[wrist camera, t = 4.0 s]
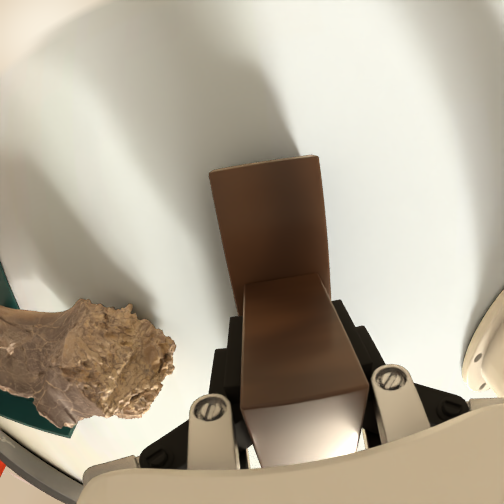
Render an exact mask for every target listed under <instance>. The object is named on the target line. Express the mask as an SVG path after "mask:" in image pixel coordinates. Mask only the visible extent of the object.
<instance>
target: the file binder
mask: <svg viewBox="0 0 504 504" xmlns="http://www.w3.org/2000/svg"><path fill="white" fill-rule="evenodd" d="M5 467H6V465H5V464H4V463H3V462H2V461H1V460H0V477H1V475H2V473H3V470H4V469H5Z"/></svg>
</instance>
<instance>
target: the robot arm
mask: <svg viewBox="0 0 504 504" xmlns="http://www.w3.org/2000/svg"><path fill="white" fill-rule="evenodd" d="M331 302H332V304H333V306H334V308H335V310H336V312H337V314H338V316H339V318H340V321H341V323H342V325H343V327H344V329H345V331H346V333H347V336H348V338H349V340H350V342H351V344H352V347H353V349H354V351H355V353H356V356H357V358H358V360H359V362H360V365H361V367H362V369H363V372H364V374H365V376H366V378H367V381H368V383H369V391H368V397H367V403H366V408H365V414H364V419H363V424H362V433H363V438H364V444H365V450H362V451H358V452H354V453H350V454H346V455H342V456H337V457H332V458H328V459H323V460H317V461H312V462H306V463H299V464H292V465H285V466H276V467H267V468H255V469H251V468H250V461H249V454H248V449H247V448H248V447H249V446H251V445H252V441H251V438H250V435H249V432H248V430H247V427H246V424H245V421H244V418H243V415H242V412H241V409H240V389H241V358H242V328H243V315H242V316H234V317H230V324H229V334H228V344H227V348H223V349H216V350H215V353H214V360H213V367H212V374H211V381H210V388H209V394H207V395H203V396H201V397H199V398H198V399H196V400H195V401H194V402H193V404H192V405H191V407H190V411H189V419H188V420H187V421H186V422H184V423H183V424H181V425H180V426H178V427H177V428H175V429H174V430H172V431H171V432H169V433H168V434H166V435H165V436H163V437H162V438H160V439H159V440H157V441H156V442H154V443H152V444H151V445H149V446H148V447H146V448H145V449H144V450H143V451H142V453H141V454H140V456H137V457H135V456H134V455H131V456H128V457H124V458H121V459H117V460H114V461H110V462H106V463H102V464H98V465H94V466H92V467H89V468H88V469H87V470H86V471H85V472H84V474H83V486H84V489H83V490H82V492H81V494H80V496H79V498H78V501H77V503H76V504H504V289H503V291H502V292H501V293H500V294H499V296H498V297H497V298H496V300H495V301H494V302H493V304H492V305H491V307H490V308H489V310H488V311H487V313H486V314H485V316H484V317H483V319H482V321H481V323H480V324H479V326H478V328H477V330H476V331H475V333H474V335H473V338H472V340H471V342H470V344H469V346H468V349H467V352H466V354H465V357H464V362H463V366H462V377H463V380H464V382H465V383H466V385H467V386H468V388H469V389H470V390H472V391H475V392H481V391H486V390H488V389H492V390H493V392H494V393H495V394H496V396H497V397H498V398H477V399H470V400H469V401H465V400H464V399H463V398H462V397H460V396H457V395H455V394H451V393H447V392H444V391H440V390H436V389H433V388H430V387H426V386H423V385H419V384H416V383H414V382H413V380H412V378H411V375H410V373H409V372H408V370H406V369H405V368H404V367H402V366H399V365H395V364H387V365H385V363H384V361H383V359H382V357H381V355H380V353H379V351H378V350H377V348H376V346H375V344H374V342H373V340H372V339H371V337H370V335H369V333H368V331H367V330H366V328H365V327H364V326H359V327H355V326H354V324H353V322H352V320H351V318H350V316H349V314H348V312H347V310H346V308H345V307H344V305H343V303H342V301H341V300H335V301H331Z"/></svg>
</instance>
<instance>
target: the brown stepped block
mask: <svg viewBox="0 0 504 504" xmlns="http://www.w3.org/2000/svg"><path fill="white" fill-rule="evenodd" d="M209 179H210V184H211V189H212V194H213V200H214V205H215V210H216V214H217V219H218V224H219V229H220V234H221V239H222V244H223V248H224V253H225V258H226V262H227V267H228V272H229V276H230V281H231V285H232V290H233V294H234V299H235V303H236V308H237V312H238V316H242V315H243V328H242V358H241V389H240V409H241V412H242V415H243V418H244V421H245V424H246V427H247V430H248V432H249V435H250V438H251V441H252V444H253V446H254V449H255V452H256V455H257V457H258V460H259V463H260V465H261V468H267V467H276V466H285V465H292V464H299V463H306V462H312V461H317V460H323V459H328V458H332V457H337V456H342V455H346V454H350V453H354V452H356V451H357V446H358V442H359V438H360V433H361V429H362V424H363V419H364V414H365V408H366V403H367V397H368V391H369V383H368V381H367V378H366V376H365V374H364V372H363V369H362V367H361V365H360V362H359V360H358V358H357V356H356V353H355V351H354V349H353V347H352V344H351V342H350V340H349V338H348V336H347V333H346V331H345V329H344V327H343V325H342V323H341V321H340V318H339V316H338V314H337V312H336V310H335V308H334V306H333V304H332V302H331V287H330V268H329V253H328V239H327V227H326V216H325V206H324V197H323V188H322V179H321V171H320V163H319V157H318V156H315V155H305V156H297V157H289V158H282V159H275V160H268V161H261V162H255V163H249V164H243V165H237V166H231V167H226V168H220V169H215V170H212V171H211V172H209Z"/></svg>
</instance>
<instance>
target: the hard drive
mask: <svg viewBox="0 0 504 504" xmlns="http://www.w3.org/2000/svg"><path fill="white" fill-rule="evenodd" d="M0 460H1V461H2V462H3V463H4V464H5V465H7V466H8V467H9V468H10V469H12V470H13V471H14V472H15V473H17V474H18V475H19V476H21V477H22V478H23V479H25V480H26V481H28V482H29V483H31V484H32V485H34V486H35V487H37V488H38V489H40V490H41V491H43V492H45V493H47V494H48V495H50V496H52V497H54V498H55V499H57V500H59V501H61V502H63V503H65V504H76V503H77V501H78V498H79V496H80V494H81V492H82V490H83V489H84V486H83V485H81V484H79V483H78V482H76V481H74V480H72V479H71V478H69V477H67V476H66V475H64V474H62V473H61V472H59V471H57V470H56V469H54V468H53V467H51V466H50V465H48V464H46V463H45V462H43V461H42V460H40V459H39V458H37V457H36V456H35V455H33V454H32V453H30V452H29V451H27V450H26V449H25V448H23V447H22V446H21V445H19V444H18V443H17V442H15V441H14V440H13V439H11V438H10V437H9V436H7V435H6V434H5V433H4V432H2V431H1V430H0Z"/></svg>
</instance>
